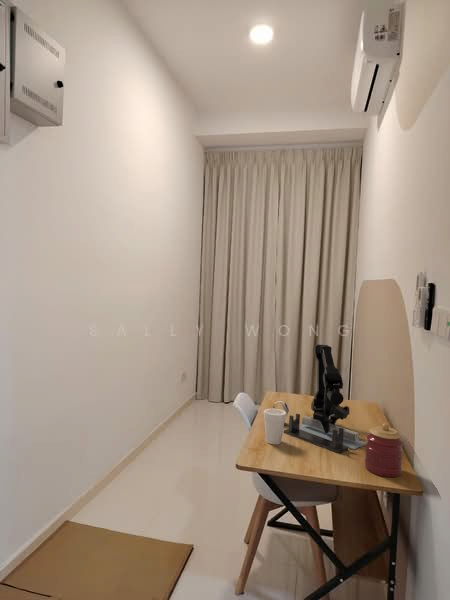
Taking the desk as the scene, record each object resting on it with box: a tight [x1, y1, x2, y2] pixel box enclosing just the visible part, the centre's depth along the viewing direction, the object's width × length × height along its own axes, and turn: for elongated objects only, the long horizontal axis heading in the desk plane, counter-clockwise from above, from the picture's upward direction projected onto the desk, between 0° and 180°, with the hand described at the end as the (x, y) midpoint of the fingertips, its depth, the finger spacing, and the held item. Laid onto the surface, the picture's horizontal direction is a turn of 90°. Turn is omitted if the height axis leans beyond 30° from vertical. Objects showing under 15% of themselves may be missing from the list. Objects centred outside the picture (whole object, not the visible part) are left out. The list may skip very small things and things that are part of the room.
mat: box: [299, 424, 367, 451], centre depth 185 cm, size 11×32×1 cm, turn 42°
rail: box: [301, 415, 360, 442], centre depth 185 cm, size 3×28×3 cm, turn 42°
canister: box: [364, 422, 404, 478], centre depth 151 cm, size 13×13×18 cm
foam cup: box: [263, 408, 287, 445], centre depth 175 cm, size 10×9×13 cm
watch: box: [272, 400, 290, 417], centre depth 199 cm, size 6×8×11 cm
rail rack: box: [283, 413, 349, 455], centre depth 178 cm, size 7×29×8 cm, turn 42°
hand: (328, 432), depth 185 cm, fingers closed on rail, 3 cm apart
